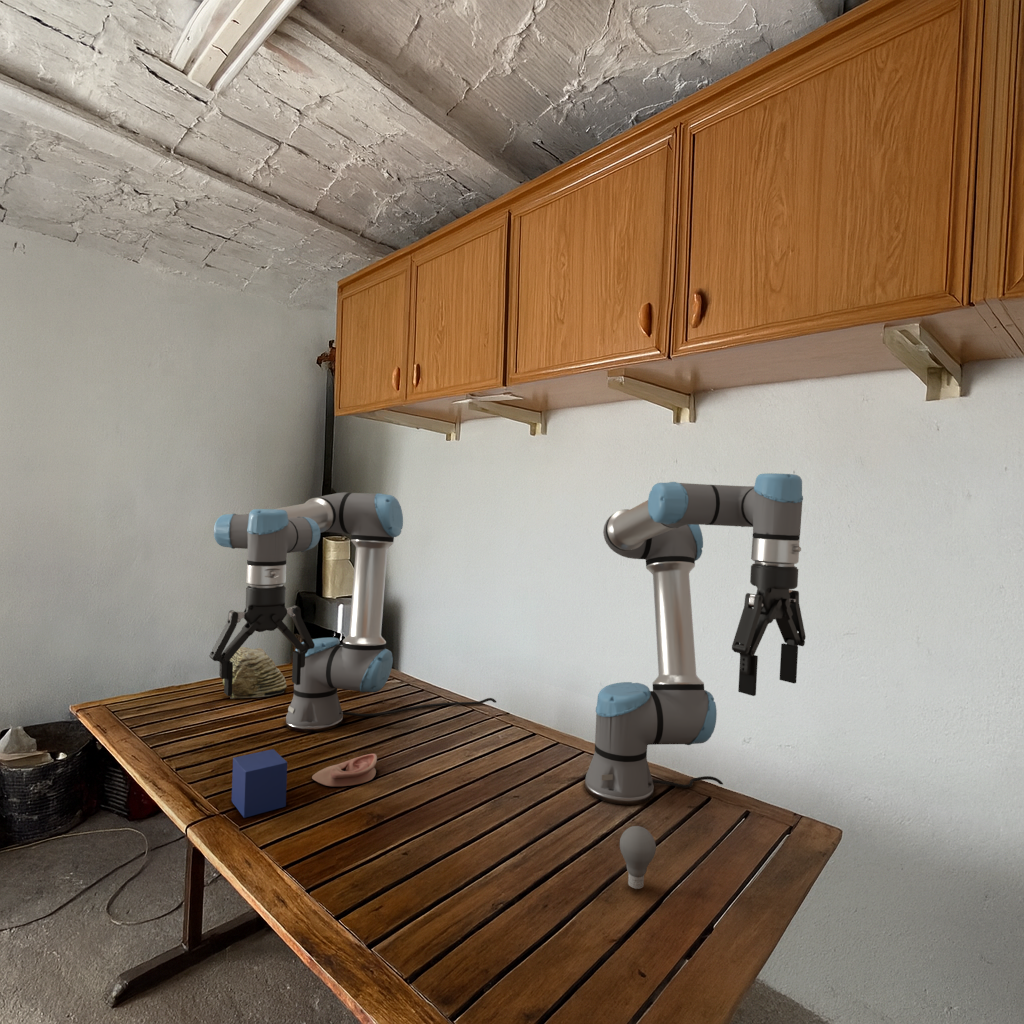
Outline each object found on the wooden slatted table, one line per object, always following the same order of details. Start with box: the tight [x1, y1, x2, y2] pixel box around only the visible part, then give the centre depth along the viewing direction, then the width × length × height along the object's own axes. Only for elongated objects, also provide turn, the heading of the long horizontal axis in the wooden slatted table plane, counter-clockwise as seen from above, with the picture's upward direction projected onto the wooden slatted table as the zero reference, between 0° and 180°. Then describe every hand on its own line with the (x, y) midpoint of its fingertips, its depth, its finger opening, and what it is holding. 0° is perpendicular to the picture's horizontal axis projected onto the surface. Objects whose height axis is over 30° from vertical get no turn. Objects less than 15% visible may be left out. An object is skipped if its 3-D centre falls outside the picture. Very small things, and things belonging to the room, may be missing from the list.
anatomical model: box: [311, 753, 378, 788], centre depth 144 cm, size 13×4×12 cm
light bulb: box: [619, 825, 657, 890], centre depth 107 cm, size 6×6×10 cm
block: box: [231, 748, 288, 819], centre depth 129 cm, size 8×8×9 cm
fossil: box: [222, 646, 288, 699], centre depth 198 cm, size 9×18×15 cm, turn 132°
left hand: (263, 688), depth 129 cm, fingers open, 13 cm apart
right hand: (768, 687), depth 109 cm, fingers open, 13 cm apart
